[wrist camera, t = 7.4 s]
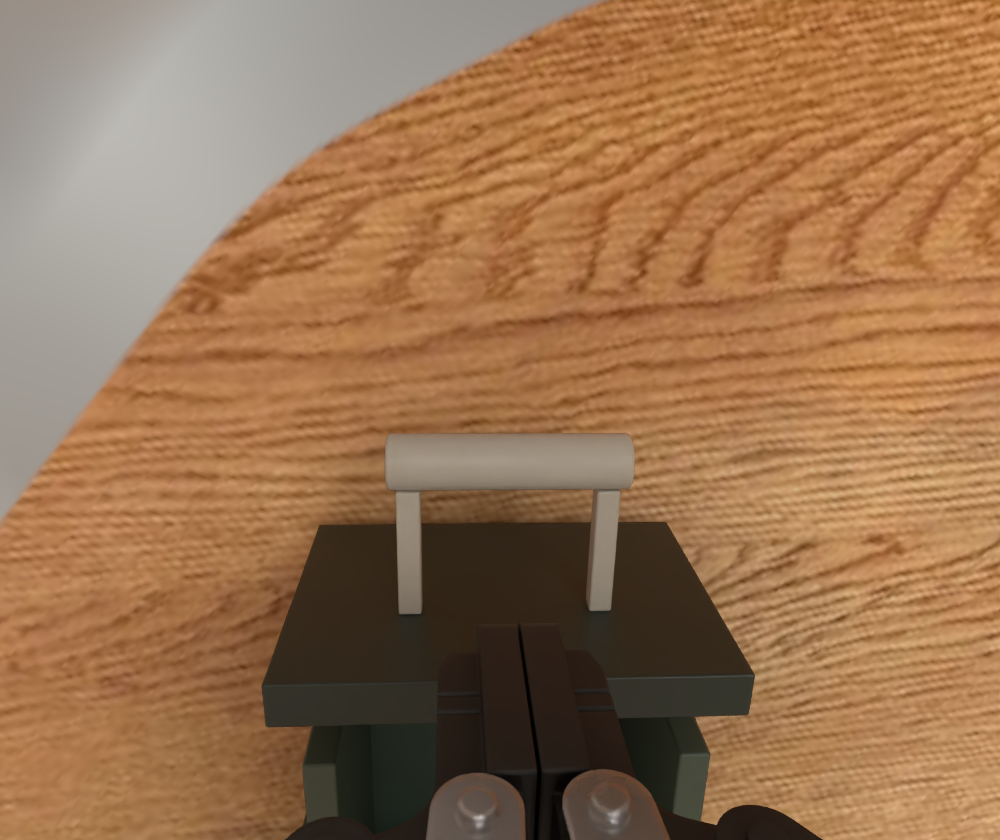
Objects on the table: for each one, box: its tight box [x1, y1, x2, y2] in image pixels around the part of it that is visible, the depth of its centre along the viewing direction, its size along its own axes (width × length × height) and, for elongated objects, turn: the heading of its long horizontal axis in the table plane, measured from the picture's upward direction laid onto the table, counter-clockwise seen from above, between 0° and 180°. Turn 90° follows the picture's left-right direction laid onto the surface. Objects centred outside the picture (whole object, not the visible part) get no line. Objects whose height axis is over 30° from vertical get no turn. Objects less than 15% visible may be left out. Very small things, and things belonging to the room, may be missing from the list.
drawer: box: [262, 433, 755, 835], centre depth 22 cm, size 19×11×8 cm, turn 179°
